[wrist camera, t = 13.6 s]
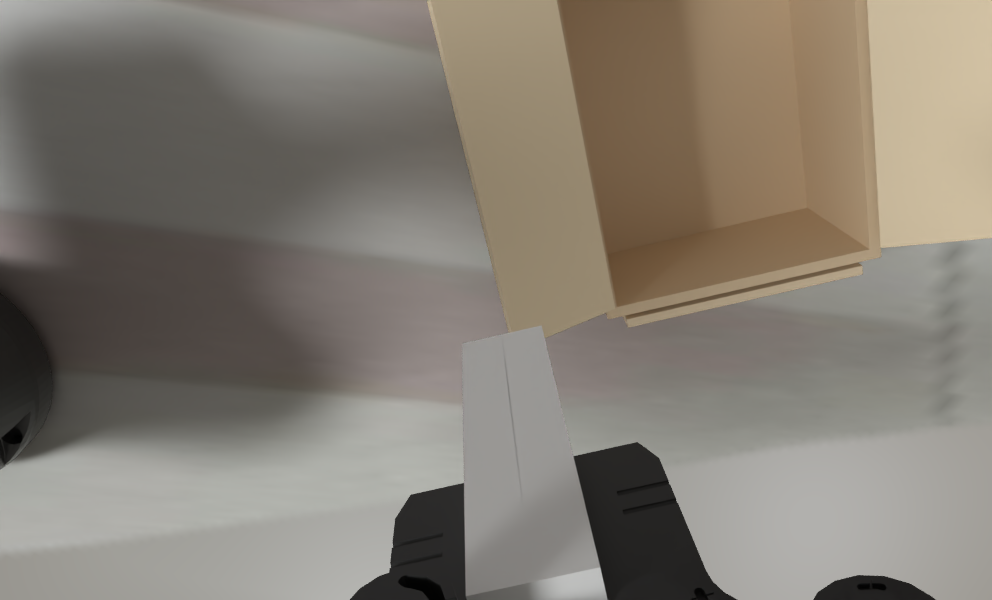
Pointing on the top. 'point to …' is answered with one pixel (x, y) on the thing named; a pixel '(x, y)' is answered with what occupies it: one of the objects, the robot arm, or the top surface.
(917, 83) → the flap
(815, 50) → the carton
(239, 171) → the top surface
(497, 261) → the flap
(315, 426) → the top surface
